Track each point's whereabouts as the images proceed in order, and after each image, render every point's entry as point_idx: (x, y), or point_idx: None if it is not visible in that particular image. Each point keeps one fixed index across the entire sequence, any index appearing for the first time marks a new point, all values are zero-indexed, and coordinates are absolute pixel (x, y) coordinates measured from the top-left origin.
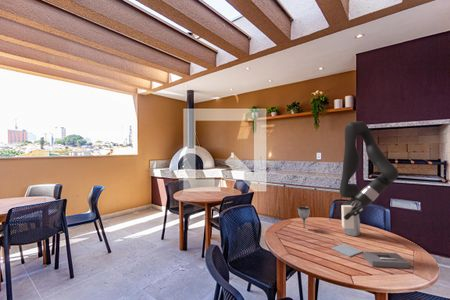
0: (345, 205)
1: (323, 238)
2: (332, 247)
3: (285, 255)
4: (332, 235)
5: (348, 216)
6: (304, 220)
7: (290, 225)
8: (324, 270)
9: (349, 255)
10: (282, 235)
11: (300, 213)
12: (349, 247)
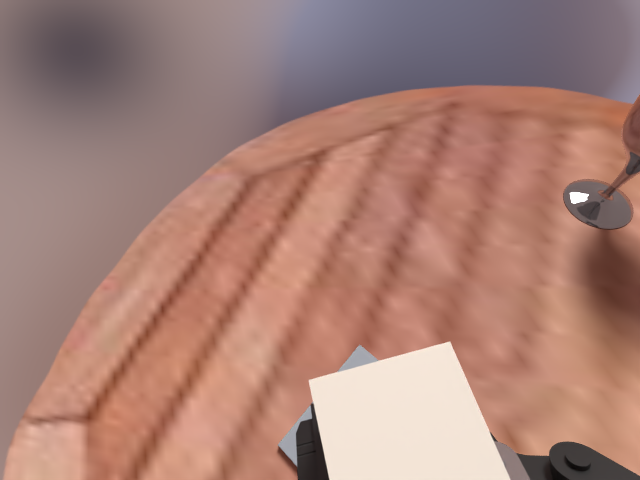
0: (464, 441)
1: (501, 307)
2: (367, 351)
3: (230, 170)
4: (597, 365)
5: (299, 470)
6: (629, 167)
7: (598, 139)
8: (125, 307)
9: (285, 446)
10: (429, 132)
11: (632, 106)
12: None
